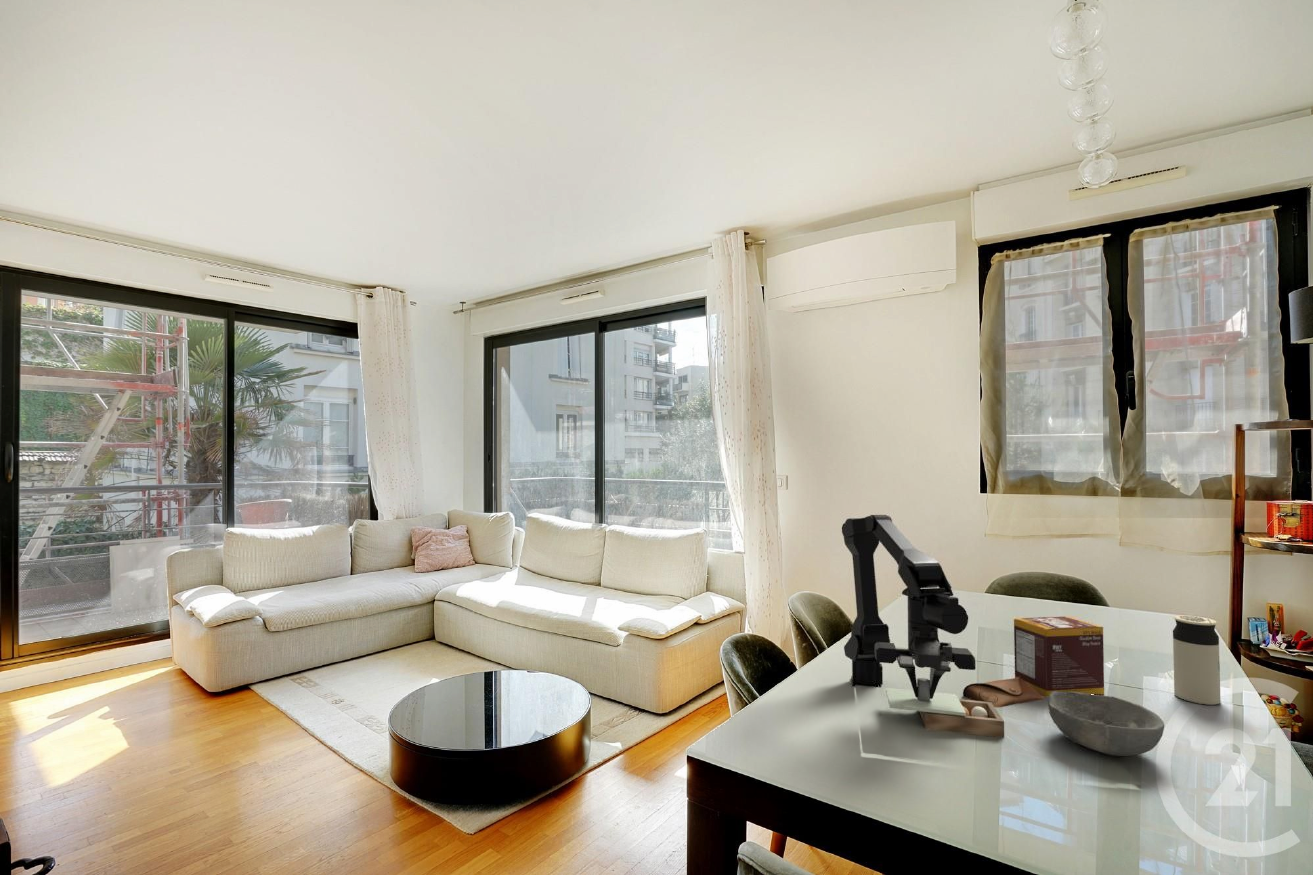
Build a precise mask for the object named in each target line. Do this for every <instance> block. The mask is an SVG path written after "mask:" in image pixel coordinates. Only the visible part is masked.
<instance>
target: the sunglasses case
mask: <svg viewBox="0 0 1313 875" xmlns="http://www.w3.org/2000/svg"><path fill="white" fill-rule="evenodd" d="M962 697H965V698H967V699H968V700H972V701H983V702H991V703H992V704H993V706H994V707H995V708H1003V707H1007V706H1013V705H1018V704H1023V703H1029V702H1036V701H1043V700H1047V698H1046V696H1043V695H1041V694H1040V693H1039V692H1038V691H1036V690H1035V689H1034V688H1033V687H1031V686H1030V685H1029V684H1028V683H1027V682H1025V681H1024V680H1023V679H1022V677H1021V676H1020V677H1017V678H1015V677H1014V678H1008V679H1007V678H1006V679H999V680H992V681H986V682H976V683H970V684H968V685H966V686H965V687H964V689H963V691H962Z"/></svg>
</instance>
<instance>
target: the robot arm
mask: <svg viewBox="0 0 1313 875" xmlns="http://www.w3.org/2000/svg"><path fill="white" fill-rule="evenodd" d="M841 533H842V536H843V541H844V545H845V547H846V548H847V550H848V551H849V552H850V554H851V556H852V567H853V579H854V592H855V604H856V617H855V618H854V621H853V623H852V625H851V628H850V631H851V632H850V638H849V639H848V640H847V641H846V644H844V645H843V650H844V656H845V657H847V658H848V659H850V660H851V676H850V677H851V679H850V680H851V686H852V687H856V686H862V687H872V688H882V685H883V683H884V682H883V681H884V680H883V679H884V678H883V675H884V674H883V670H884V669H883V667H884V666H883V665H882V663H883V664H894V663H895V662H897V664H898V666H899V668H901V669H905V671H906V673H907V676H908V679H909V681H910V684H911V688H912V690H913V691H914V694H915V697H916V698H918V688H917V676H916V667H918V668H920V669H923V668H929V680H930V699H932V698H933V696H934V693H936V690H937V687H938V684H939V682H940V680H941V678H942V676H943V675H945V673H950V672H951V670H952V668H951V667H950V664H951V663H953V664H954V666H956V668H958V669H959V670H966V671H967V670H968V671H975V670H976V668H977V667H976V664H977V663H976V657H975V656H974V655H973V653H972V652H971V651H970V650H969V649H968V648H967V647H966V648H964V647H953V646H952V643H951V642H942V641H940V640H939V630H941V631H944V632H946V633H949V634H952V635H958V634H960V633H962V632H963V631H964V630H966V628H967V626H968V623H969V615H968V613H967V611H966V608H964V607H963V606H962V605H960V604H959V597H956V596H954V591H953V590H952V586H951V583H950V582H949V581H948V579H947V577H946V574H945V572H944V570H943V567H942V566H941V564H940V563H939V561H938V560H936V559H935V558H933V556H931V555H930V554H928V553H925V552H923V551H920V550H918V549H917V548H916V547H915V546H914V545H913V544H912V543H911V541H909V539H908V538H907V537H906V536H905V535H904V534H903V533H902V532H901V530H900V529H899V528H898V527H897V526H896V524H894V522H893V519H892V517H891V516H890V515H887V514H870V515H867V516H865V517H859V518H854V517H853V518H852V517H851V518H847V519H846V520H845V522H843V524H842V526H841ZM880 543H881V545H882V546H883V547H884V549H885V550H886V551H887V552H888V553H889V555H890V556H891V557H892V558H893V559H894V561H895V562H896V564H897V566H898V567H897V574H898V575H899V577H900V579H901V580H902V581H903V583H904V585H905V586H906V588H904V589H902V592H901V594H902V595H903V596H906V597H907V648H897V647H896V645H895V643H893V642H891V638H890V632H889V630H890V627H889V625H888V624H887V623H884V622H883V620H882V619H881V617H880V616H879V615H880V613H879V605H878V593H877V591H878V590H877V582H876V572H875V571H876V569H875V557H874V556H875V555H874V554H875V552H876V550H877V548H878V547H879V545H880Z"/></svg>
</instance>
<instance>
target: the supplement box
mask: <svg viewBox="0 0 1313 875" xmlns="http://www.w3.org/2000/svg"><path fill="white" fill-rule="evenodd" d="M1013 639H1014V640H1013V646H1014V678H1017V677H1020V676H1021V677H1022V679H1023V680H1024V681H1025V682H1027V683H1028V684H1029V685H1030V686H1031V687H1033V688H1034V689H1035V690H1036V691H1038V692H1039V693H1040V694H1041V695H1042V696H1044V697H1047V698H1048V697H1049V695H1050V694H1051V693H1052V692H1054V691H1058V692H1059V691H1062V692H1078V693H1085V694H1101V695H1105V668H1104V667H1105V666H1104V665H1105V661H1104V660H1105V659H1104V657H1105V656H1104V626H1100V625H1097V624H1095V623H1090V622H1087V621H1084V620H1082V619H1081V620H1080V619H1078V618H1075V617H1072V616H1068V615H1066V616H1064V615H1063V616H1047V617H1045V616H1043V617H1041V616H1039V617H1021V618H1019V617H1017V618H1014V619H1013Z"/></svg>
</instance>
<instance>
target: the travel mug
mask: <svg viewBox="0 0 1313 875" xmlns="http://www.w3.org/2000/svg"><path fill="white" fill-rule="evenodd" d="M1173 619H1174V620H1175V627H1174V628H1173V630H1172V651H1173V653H1172V654H1173V656H1172V657H1173V689H1174V690H1173V691H1174V695H1175V696H1176V697H1177V698H1179V699H1181V700H1183V699H1184V700H1183V701H1186V700H1187V701H1186V702H1189V701H1190V702H1189V703H1193V702H1195V703H1194V704H1197V703H1198V705H1203V704H1205V705H1207V706H1210V705H1211V706H1215V705H1219V704H1221V703H1222V702H1221V701H1222V700H1221V673H1220V672H1221V671H1220V668H1221V667H1220V666H1221V665H1220V636H1219V635H1218V633H1217V632H1216V631H1215V629H1216V625H1217V624H1218V622H1217V621H1216V620H1215V619H1210V618H1207V617H1202V616H1196V615H1185V614H1183V615H1182V614H1181V615H1180V614H1179V615H1174V616H1173ZM1205 705H1204V706H1205Z"/></svg>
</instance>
